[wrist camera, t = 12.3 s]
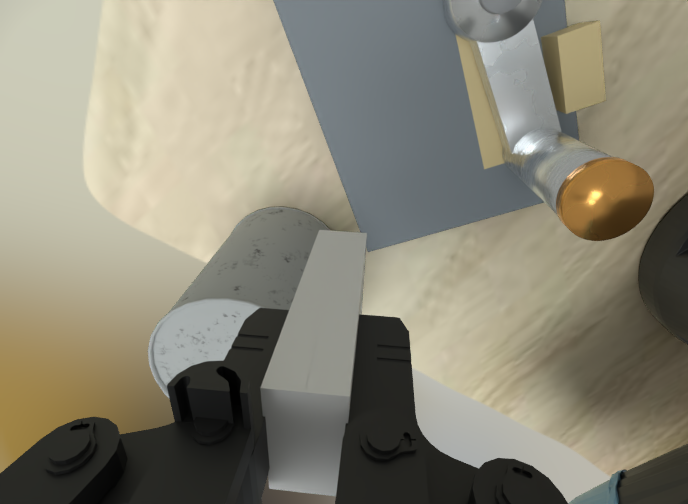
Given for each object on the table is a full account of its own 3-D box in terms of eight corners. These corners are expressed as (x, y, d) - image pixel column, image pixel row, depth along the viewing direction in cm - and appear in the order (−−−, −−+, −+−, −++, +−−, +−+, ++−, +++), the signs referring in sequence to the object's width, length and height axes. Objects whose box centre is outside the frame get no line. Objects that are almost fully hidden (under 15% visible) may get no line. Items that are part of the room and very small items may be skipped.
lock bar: (431, -25, 21) (465, -74, 13) (514, -73, 20) (616, -163, 11) (501, 186, 26) (561, 256, 17) (571, 157, 25) (673, 217, 16)
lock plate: (585, 182, 27) (629, 211, 22) (368, 244, 31) (366, 281, 26) (534, -325, 17) (593, -468, 12) (223, -146, 21) (175, -203, 16)
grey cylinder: (328, 322, 34) (303, 450, 24) (220, 293, 34) (145, 410, 23) (358, 226, 30) (345, 329, 19) (235, 191, 29) (150, 276, 19)
